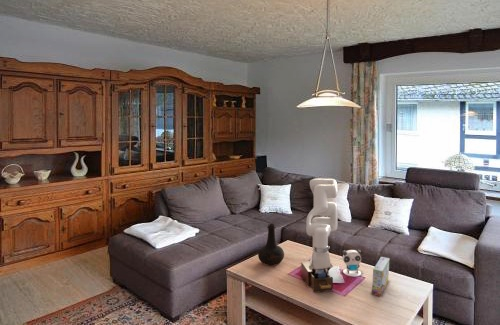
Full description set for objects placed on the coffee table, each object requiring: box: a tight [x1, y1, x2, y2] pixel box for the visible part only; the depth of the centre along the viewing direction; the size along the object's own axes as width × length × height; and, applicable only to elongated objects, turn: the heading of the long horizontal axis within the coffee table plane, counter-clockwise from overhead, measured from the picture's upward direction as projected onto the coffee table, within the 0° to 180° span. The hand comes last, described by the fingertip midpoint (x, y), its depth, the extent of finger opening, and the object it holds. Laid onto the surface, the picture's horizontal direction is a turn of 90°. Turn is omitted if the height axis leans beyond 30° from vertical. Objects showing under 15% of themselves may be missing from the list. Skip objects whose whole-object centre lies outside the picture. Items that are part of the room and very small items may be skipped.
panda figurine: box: [341, 249, 363, 278], centre depth 225 cm, size 12×11×15 cm
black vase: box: [257, 223, 285, 267], centre depth 241 cm, size 18×18×28 cm
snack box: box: [371, 256, 391, 297], centre depth 205 cm, size 21×6×15 cm, turn 148°
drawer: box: [310, 273, 334, 293], centre depth 205 cm, size 18×11×8 cm, turn 8°
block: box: [317, 270, 326, 278], centre depth 204 cm, size 4×4×4 cm
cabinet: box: [300, 260, 330, 288], centre depth 216 cm, size 15×13×10 cm
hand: (320, 278), depth 205 cm, fingers closed on block, 4 cm apart
